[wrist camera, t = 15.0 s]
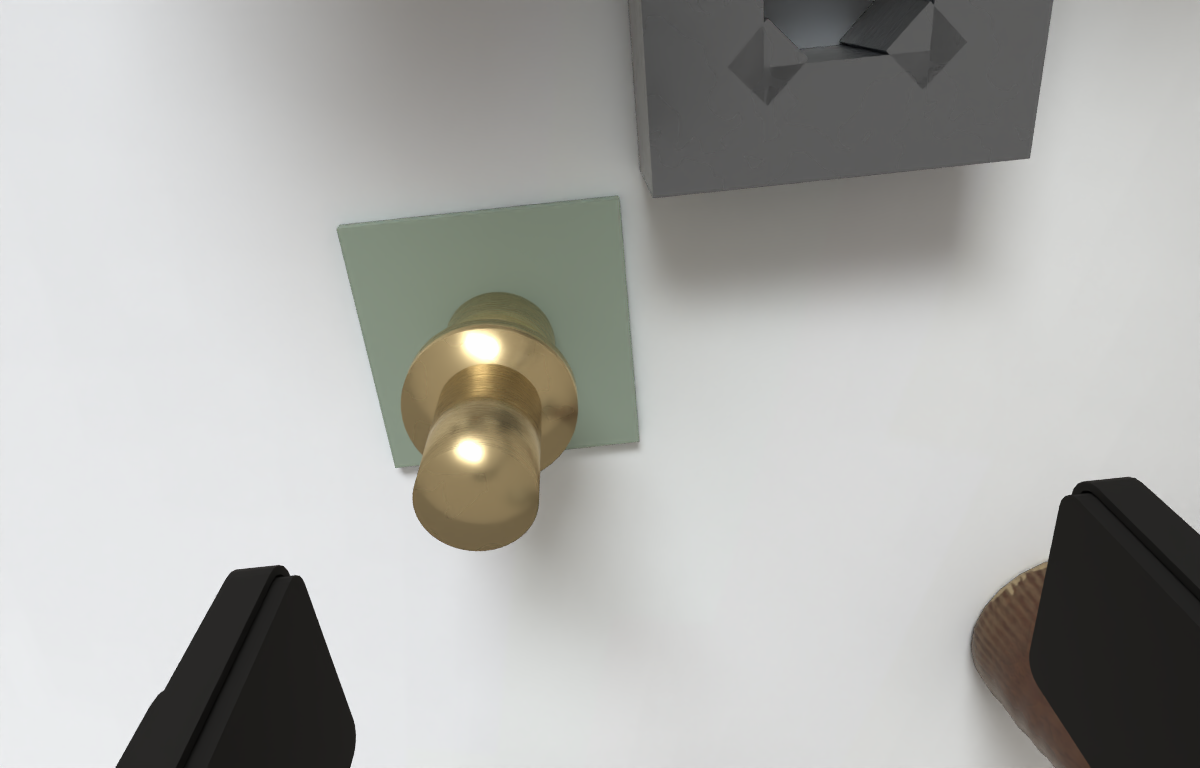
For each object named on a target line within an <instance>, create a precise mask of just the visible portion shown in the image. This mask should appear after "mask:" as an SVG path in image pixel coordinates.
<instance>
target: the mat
mask: <svg viewBox="0 0 1200 768" xmlns="http://www.w3.org/2000/svg"><path fill="white" fill-rule="evenodd" d="M337 233H338V237H339V241H340V245H341V249H342V253H343V257H344V261H345V265H346V269H347V273H348V278H349V282H350V286H351V290H352V294H353V298H354V302H355V306H356V310H357V314H358V318H359V322H360V326H361V330H362V334H363V338H364V342H365V346H366V351H367V355H368V359H369V363H370V367H371V371H372V375H373V379H374V383H375V387H376V391H377V395H378V399H379V403H380V407H381V411H382V415H383V419H384V424H385V428H386V432H387V436H388V440H389V444H390V448H391V452H392V456H393V460H394V464H395V468H400V467H409V466H419V465H420V463H421V460H422V456H423V455H422V454H421V453H420V452H419V451H418V450H417V448H416V447H415V446H414V444H413V443H412V441H411V440H410V438H409V436H408V434H407V431H406V429H405V426H404V423H403V420H402V414H401V394H402V388H403V385H404V382H405V378H406V376H407V373H408V370H409V368H410V366H411V364H412V362H413V359H414V358H415V356H416V355H417V353H418V352H419V350H420V349H421V348H422V347H423V346H424V345H425V344H426V343H427V342H428V341H429V340H430V339H431V338H432V337H434V336H435V335H436V334H438V333H440V332H441V331H443V330H444V329H446V328H447V326H448V323H449V321H450V319H451V317H452V315H453V314H454V312H455V311H456V310H457V309H458V308H459V307H460V306H461V305H462V304H464V303H465V302H466V301H468V300H470V299H471V298H473V297H476V296H478V295H481V294H485V293H491V292H506V293H511V294H515V295H518V296H521V297H523V298H525V299H527V300H529V301H531V302H532V303H534V304H535V305H536V306H537V307H539V308H540V309H541V311H542V312H543V313H544V314H545V315H546V317H547V318H548V320H549V322H550V324H551V326H552V329H553V331H554V336H555V346H556V347H557V348H558V349H559V351H560V352H561V353H562V354H563V356H564V357H565V359H566V360H567V362H568V364H569V365H570V367H571V369H572V372H573V375H574V378H575V381H576V386H577V398H578V417H577V424H576V427H575V431H574V433H573V436H572V438H571V440H570V442H569V444H568V445H567V447H566V449H565V450H567V449H576V448H586V447H595V446H604V445H613V444H623V443H632V442H639V433H638V421H637V409H636V397H635V384H634V372H633V360H632V348H631V335H630V323H629V311H628V299H627V286H626V274H625V262H624V250H623V238H622V225H621V213H620V201H619V196H610V197H600V198H591V199H581V200H572V201H563V202H553V203H544V204H534V205H525V206H515V207H506V208H496V209H487V210H477V211H468V212H458V213H449V214H439V215H430V216H421V217H411V218H402V219H392V220H383V221H373V222H364V223H354V224H345V225H339V227H338V228H337Z"/></svg>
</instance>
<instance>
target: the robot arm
mask: <svg viewBox="0 0 1200 768" xmlns="http://www.w3.org/2000/svg"><path fill="white" fill-rule="evenodd" d="M1029 664H1030V668H1031V673H1032V675H1033V678H1034V680H1035V682H1036V684H1037V686H1038V687H1039V689H1040V690H1041V692H1042V694H1043V695H1044V697H1045V698H1046V700H1047V701H1048V703H1049V704H1050V706H1051V707H1052V709H1053V710H1054V712H1055V714H1056V715H1057V717H1058V718H1059V720H1060V721H1061V723H1062V724H1063V726H1064V727H1065V729H1066V730H1067V732H1068V733H1069V735H1070V737H1071V738H1072V740H1073V741H1074V743H1075V744H1076V746H1077V747H1078V749H1079V750H1080V752H1081V753H1082V755H1083V756H1084V758H1085V760H1086V761H1087V763H1088V764H1089V766H1090V767H1091V768H1200V535H1199V534H1198V533H1197V532H1196V531H1195V530H1194V529H1193V528H1192V527H1191V526H1189V525H1188V524H1187V523H1186V522H1185V521H1184V520H1183V519H1182V518H1181V517H1179V516H1178V515H1177V514H1176V513H1175V512H1174V511H1173V510H1172V509H1171V508H1170V507H1168V506H1167V505H1166V504H1165V503H1164V502H1163V501H1162V500H1161V499H1160V498H1158V497H1157V496H1156V495H1155V494H1154V493H1153V492H1152V491H1151V490H1150V489H1148V488H1147V487H1146V486H1145V485H1144V484H1143V483H1142V482H1140V481H1139V480H1137V479H1136V478H1131V477H1122V478H1113V479H1103V480H1093V481H1084V482H1081V483H1078V484H1077V485H1076V487H1075V488H1074V489H1073V492H1072V495H1068V496H1065V497H1064V498H1063V499H1062V500H1061V503H1060V506H1059V511H1058V516H1057V520H1056V525H1055V530H1054V535H1053V540H1052V545H1051V549H1050V554H1049V559H1048V564H1047V569H1046V574H1045V579H1044V583H1043V588H1042V593H1041V598H1040V603H1039V608H1038V612H1037V617H1036V622H1035V627H1034V632H1033V637H1032V642H1031V646H1030V651H1029ZM355 743H356V731H355V724H354V720H353V717H352V715H351V712H350V709H349V706H348V703H347V701H346V698H345V695H344V692H343V689H342V687H341V684H340V681H339V678H338V675H337V673H336V670H335V667H334V664H333V661H332V659H331V656H330V653H329V650H328V647H327V645H326V642H325V639H324V636H323V633H322V631H321V628H320V625H319V622H318V619H317V617H316V614H315V611H314V608H313V605H312V603H311V600H310V597H309V594H308V591H307V589H306V586H305V583H304V581H303V579H302V578H301V577H300V576H297V575H294V576H290V574H289V572H288V570H287V569H286V568H285V567H284V566H280V565H276V566H266V567H256V568H247V569H237V570H234V571H232V572H231V573H230V574H229V575H228V577H227V578H226V580H225V581H224V583H223V585H222V587H221V589H220V590H219V592H218V594H217V596H216V598H215V599H214V601H213V603H212V605H211V607H210V608H209V610H208V612H207V614H206V616H205V618H204V619H203V621H202V623H201V625H200V627H199V628H198V630H197V632H196V634H195V636H194V637H193V639H192V641H191V643H190V645H189V646H188V648H187V650H186V652H185V654H184V655H183V657H182V659H181V661H180V663H179V664H178V666H177V668H176V670H175V672H174V673H173V675H172V677H171V679H170V681H169V682H168V684H167V686H166V688H165V690H164V691H163V692H161V693H160V694H159V695H158V696H157V697H156V699H155V700H154V701H153V703H152V704H151V706H150V707H149V709H148V711H147V712H146V714H145V716H144V718H143V720H142V721H141V723H140V725H139V727H138V728H137V730H136V732H135V734H134V736H133V737H132V739H131V741H130V743H129V744H128V746H127V748H126V750H125V752H124V753H123V755H122V757H121V759H120V760H119V762H118V764H117V766H116V768H350V767H351V763H352V759H353V755H354V751H355Z"/></svg>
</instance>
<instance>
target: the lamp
mask: <svg viewBox="0 0 1200 768" xmlns="http://www.w3.org/2000/svg"><path fill="white" fill-rule="evenodd" d="M1047 564H1048V562H1044V563H1042V564H1040V565H1038V566H1036V567H1034V568H1032V569H1030V570H1028V571H1026V572H1024V573H1022V574H1020V575H1019V576H1017V577H1016V578H1015V579H1013V580H1012V581H1011V582H1009V583H1008V584H1007V585H1005V586H1004V587H1003V588H1001V589H1000V590H999V591H998V593H997V594H996V595H995V596H994V597H993V598H992V599H991V600H990V602H989V603H988V604H987V605H986V606H985V608H984V610H983V611H982V613H981V615H980V617H979V619H978V621H977V623H976V625H975V627H974V632H973V637H972V643H971V649H972V654H973V660H974V664H975V667H976V669H977V671H978V672H979V674H980V676H981V677H982V679H983V680H984V682H985V684H986V685H987V687H988V688H989V690H990V691H991V693H992V694H993V695H994V696H995V697H996V698H997V699H998V700H999V702H1000V703H1001V704H1002V705H1003V706H1004V708H1005V709H1006V710H1007V712H1008V713H1009V715H1010V716H1011V718H1012V719H1013V720H1014V722H1015V723H1016V725H1017V726H1018V727H1019V728H1020V729H1021V730H1022V731H1023V732H1024V733H1025V734H1026V735H1027V736H1028V737H1029V738H1030V739H1031V741H1032V742H1033V743H1034V745H1035V746H1036V747H1037V749H1038V750H1039V751H1040V752H1041V753H1042V754H1043V755H1045V756H1046V757H1047V758H1048V760H1049V761H1050V762H1051V763H1052V765H1053V766H1054V767H1055V768H1091V767H1090V766H1089V764H1088V763H1087V761H1086V760H1085V758H1084V756H1083V755H1082V753H1081V752H1080V750H1079V749H1078V747H1077V746H1076V744H1075V743H1074V741H1073V740H1072V738H1071V737H1070V735H1069V733H1068V732H1067V730H1066V729H1065V727H1064V726H1063V724H1062V723H1061V721H1060V720H1059V718H1058V717H1057V715H1056V714H1055V712H1054V710H1053V709H1052V707H1051V706H1050V704H1049V703H1048V701H1047V700H1046V698H1045V697H1044V695H1043V694H1042V692H1041V690H1040V689H1039V687H1038V686H1037V684H1036V682H1035V680H1034V678H1033V675H1032V673H1031V668H1030V664H1029V651H1030V646H1031V642H1032V637H1033V632H1034V627H1035V622H1036V617H1037V612H1038V608H1039V603H1040V598H1041V593H1042V588H1043V583H1044V579H1045V574H1046V569H1047Z"/></svg>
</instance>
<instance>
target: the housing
mask: <svg viewBox="0 0 1200 768" xmlns="http://www.w3.org/2000/svg"><path fill="white" fill-rule="evenodd" d="M1052 5H1053V0H875V1H874V2H873V3H872V4H871V6H870V7H869V8H868V9H867V10H866V11H865V12H864V14H863V15H862V16H861V17H860V18H859V19H858V20H857V22H856V23H855V24H854V25H853V26H852V27H851V28H850V30H849V31H848V32H847V33H846V34H845V35H844V37H843V38H842V39H841V40H840V42H841V43H842V44H843V45H834V46H825V47H815V48H805V49H798V48H797V47H796V46H795V45H794V44H793V43H792V42H791V41H790V40H789V39H788V38H787V37H786V36H785V35H784V34H783V33H782V32H781V31H780V30H779V29H778V28H777V27H776V26H775V25H774V24H773V23H772V22H771V21H770V20H769V19H768V18H764V0H628V6H629V20H630V35H631V49H632V64H633V78H634V93H635V107H636V122H637V136H638V151H639V165H640V171H641V173H642V175H643V177H644V180H645V182H646V184H647V186H648V188H649V190H650V192H651V194H652V197H653V198H659V197H668V196H678V195H687V194H696V193H706V192H715V191H725V190H734V189H744V188H753V187H763V186H772V185H782V184H791V183H801V182H810V181H819V180H829V179H838V178H848V177H857V176H867V175H876V174H886V173H895V172H905V171H914V170H924V169H933V168H942V167H952V166H961V165H971V164H980V163H990V162H999V161H1009V160H1018V159H1028V158H1030V153H1031V147H1032V140H1033V133H1034V126H1035V120H1036V113H1037V106H1038V99H1039V93H1040V86H1041V79H1042V72H1043V66H1044V59H1045V52H1046V45H1047V39H1048V32H1049V25H1050V18H1051V11H1052Z"/></svg>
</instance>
